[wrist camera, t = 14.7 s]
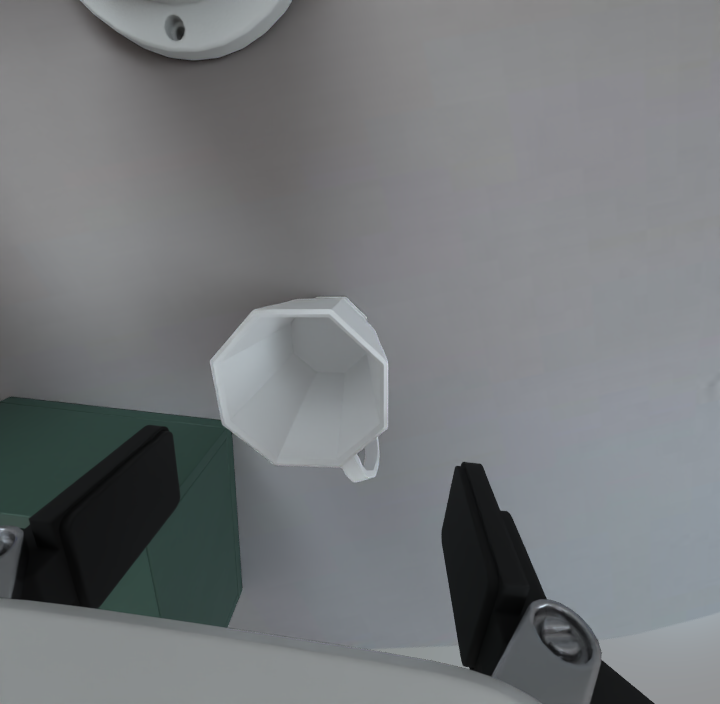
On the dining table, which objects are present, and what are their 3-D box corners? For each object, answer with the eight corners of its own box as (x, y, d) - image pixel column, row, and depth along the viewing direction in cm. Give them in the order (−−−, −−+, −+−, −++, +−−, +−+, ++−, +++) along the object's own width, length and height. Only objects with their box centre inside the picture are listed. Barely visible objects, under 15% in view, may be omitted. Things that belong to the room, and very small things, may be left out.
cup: (363, 249, 18) (346, 268, 11) (427, 402, 21) (449, 500, 14) (252, 299, 20) (169, 347, 12) (327, 436, 23) (297, 542, 15)
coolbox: (65, 566, 30) (-59, 698, 21) (10, 396, 24) (-191, 489, 15) (242, 589, 29) (184, 735, 21) (231, 421, 23) (144, 531, 15)
